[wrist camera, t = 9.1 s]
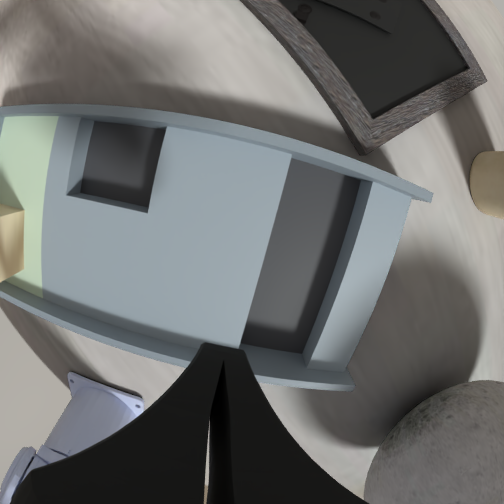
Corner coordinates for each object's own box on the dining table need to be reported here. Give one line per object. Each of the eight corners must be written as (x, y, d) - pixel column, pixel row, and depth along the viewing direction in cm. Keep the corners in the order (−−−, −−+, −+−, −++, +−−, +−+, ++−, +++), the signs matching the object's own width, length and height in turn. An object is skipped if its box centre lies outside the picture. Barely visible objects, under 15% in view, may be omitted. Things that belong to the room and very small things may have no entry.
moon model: (311, 428, 23) (352, 607, 3) (476, 307, 20) (607, 422, 1) (374, 475, 27) (409, 575, 8) (486, 395, 24) (551, 478, 5)
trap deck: (338, 363, 20) (352, 391, 17) (2, 271, 18) (-22, 284, 14) (404, 188, 17) (433, 193, 14) (15, 112, 14) (-12, 108, 11)
